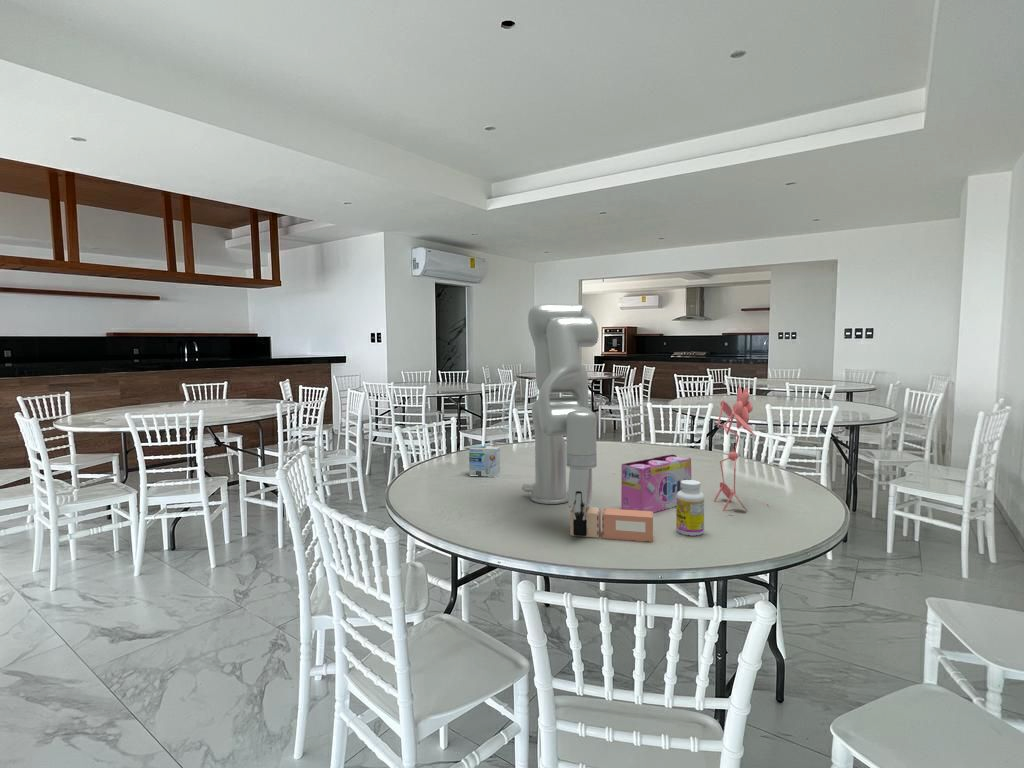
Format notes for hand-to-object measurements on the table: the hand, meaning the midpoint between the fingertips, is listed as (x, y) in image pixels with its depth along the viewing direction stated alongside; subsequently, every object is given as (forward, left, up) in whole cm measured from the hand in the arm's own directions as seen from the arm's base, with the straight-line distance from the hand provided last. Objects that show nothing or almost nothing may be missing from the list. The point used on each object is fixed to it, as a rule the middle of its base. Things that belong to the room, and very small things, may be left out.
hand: (581, 530), depth 136 cm
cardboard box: (+11, 0, -1) cm, 11 cm away
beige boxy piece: (+1, 0, -1) cm, 1 cm away
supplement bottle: (+26, +7, -1) cm, 27 cm away
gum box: (+18, +29, -1) cm, 34 cm away
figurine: (+42, +34, -1) cm, 54 cm away
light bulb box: (-44, +55, -1) cm, 70 cm away
